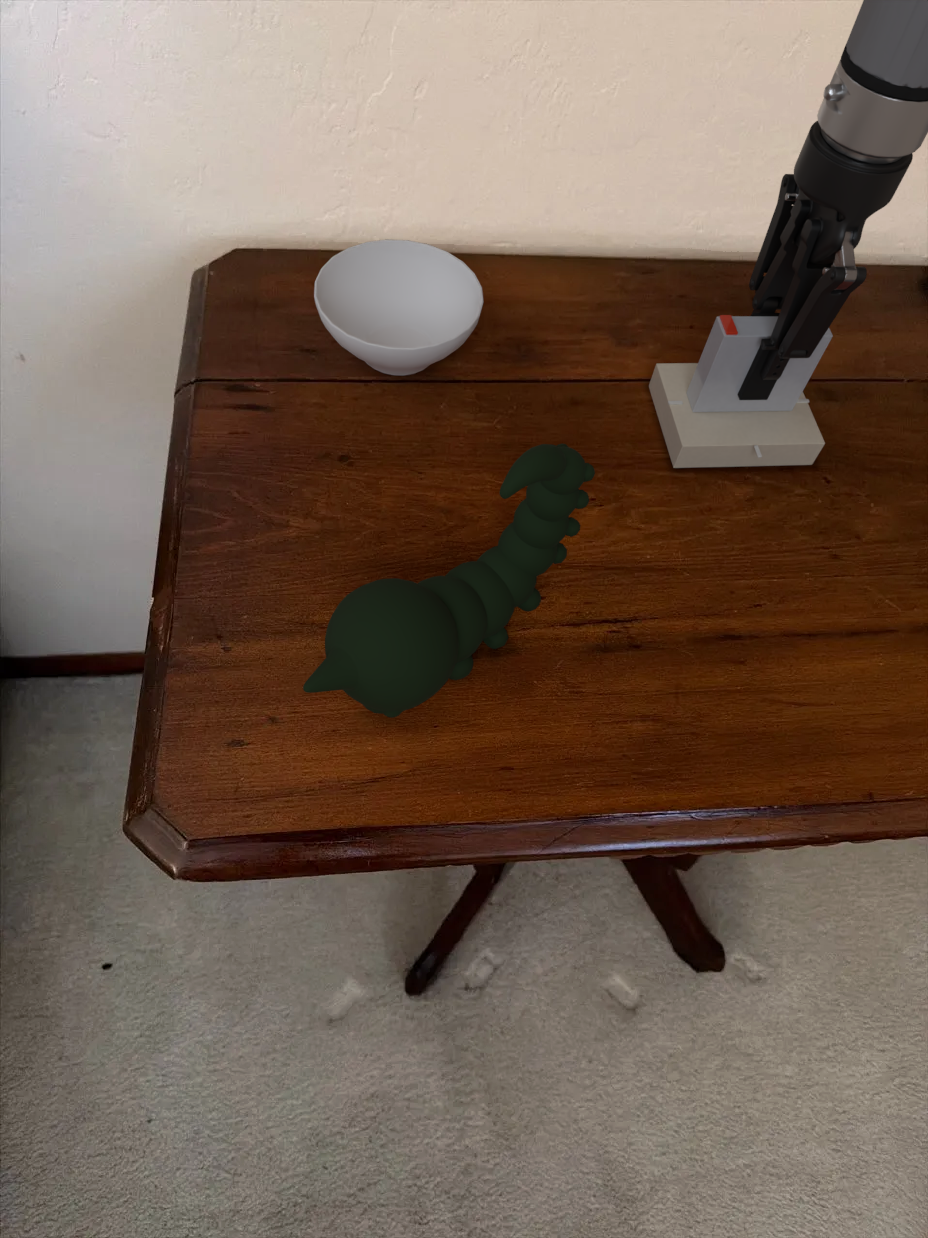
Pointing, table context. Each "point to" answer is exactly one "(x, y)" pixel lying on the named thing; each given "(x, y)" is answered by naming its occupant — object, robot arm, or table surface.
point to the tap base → (729, 428)
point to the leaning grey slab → (745, 367)
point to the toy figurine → (453, 597)
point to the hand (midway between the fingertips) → (747, 383)
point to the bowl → (398, 303)
